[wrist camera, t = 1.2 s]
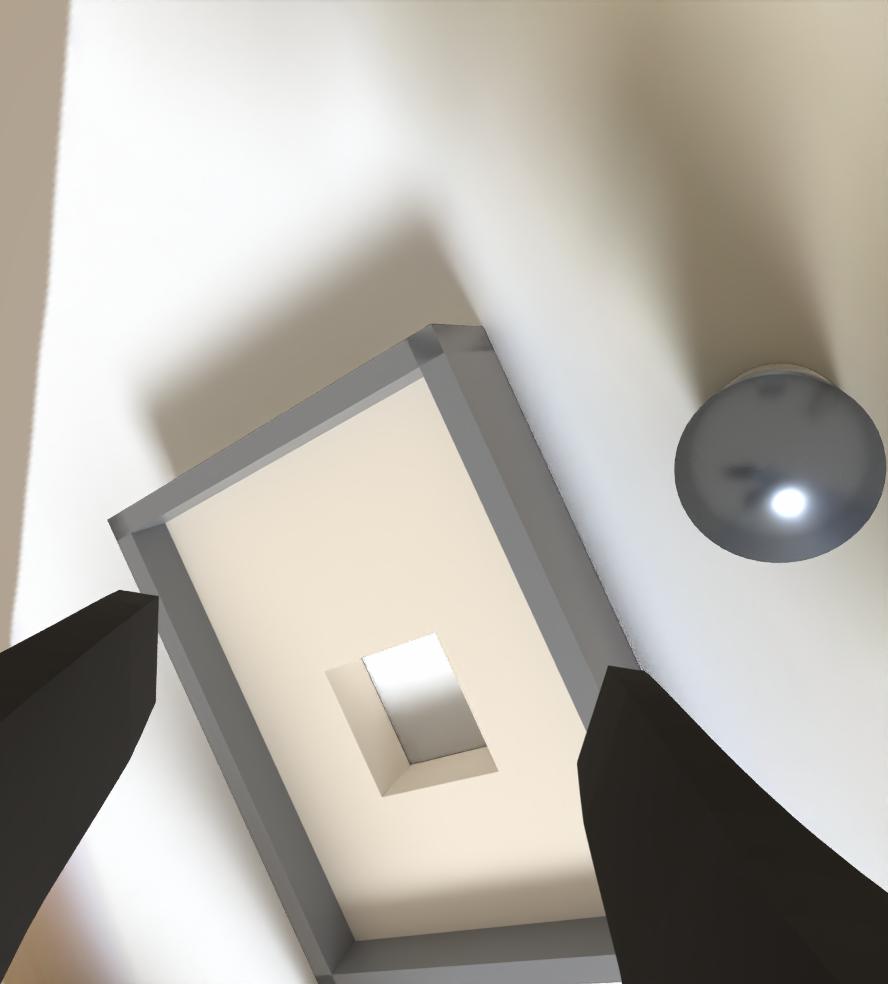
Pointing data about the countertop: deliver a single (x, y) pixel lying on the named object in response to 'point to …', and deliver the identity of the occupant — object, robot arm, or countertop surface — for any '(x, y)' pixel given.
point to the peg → (780, 465)
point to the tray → (382, 625)
